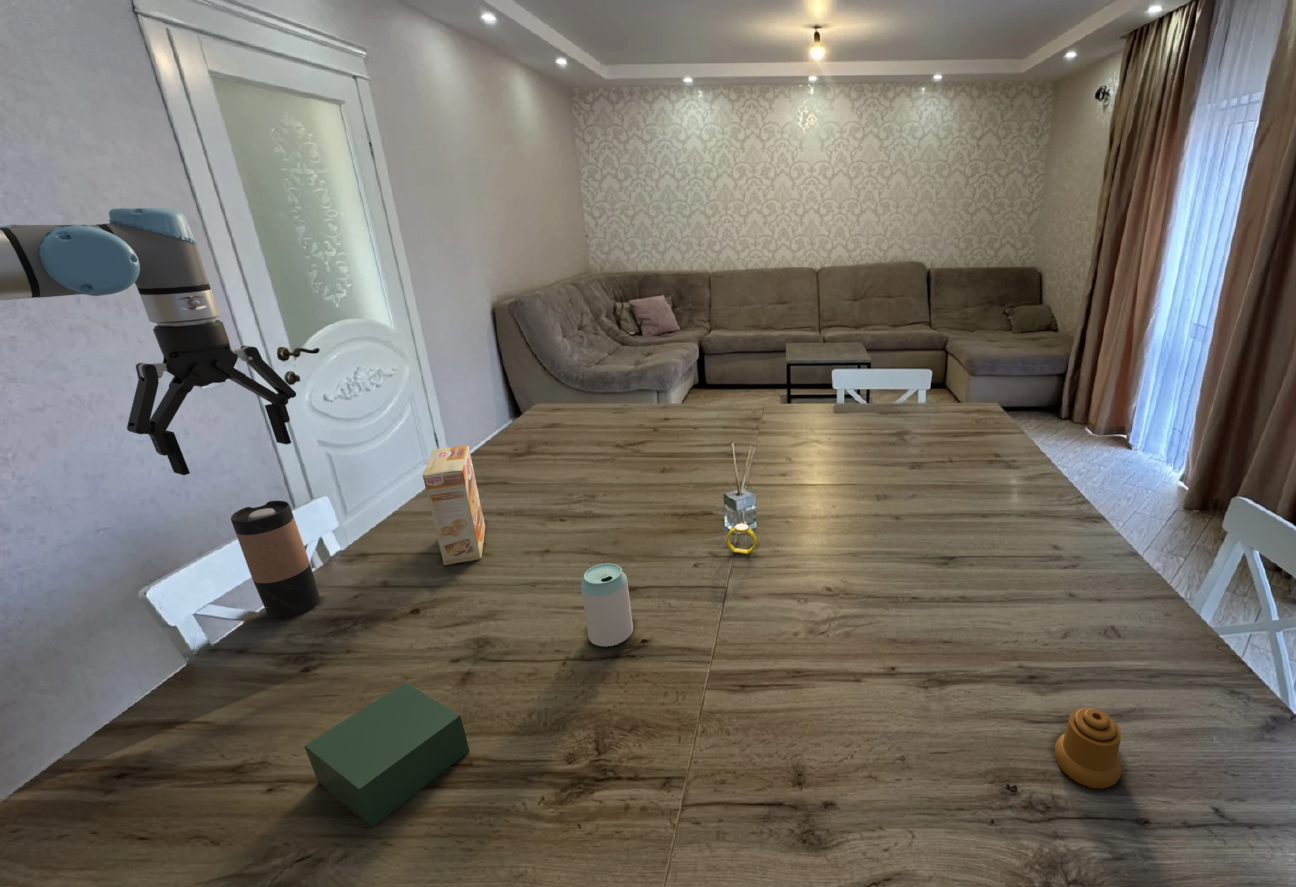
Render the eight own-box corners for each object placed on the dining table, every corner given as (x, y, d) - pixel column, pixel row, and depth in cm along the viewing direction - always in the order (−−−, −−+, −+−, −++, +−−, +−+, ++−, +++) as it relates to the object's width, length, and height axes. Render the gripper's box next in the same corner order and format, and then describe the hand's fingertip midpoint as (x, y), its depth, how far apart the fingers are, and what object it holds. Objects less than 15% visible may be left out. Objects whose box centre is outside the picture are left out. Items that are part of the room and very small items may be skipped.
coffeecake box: (482, 559, 122) (462, 470, 115) (442, 566, 119) (420, 475, 112) (486, 525, 135) (469, 443, 128) (451, 531, 132) (431, 448, 125)
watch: (725, 555, 122) (724, 529, 120) (729, 547, 125) (727, 522, 123) (755, 557, 122) (754, 530, 119) (757, 549, 124) (756, 524, 122)
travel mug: (301, 627, 102) (263, 521, 95) (256, 627, 102) (216, 521, 95) (334, 600, 109) (301, 500, 102) (292, 599, 109) (257, 500, 102)
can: (641, 625, 102) (634, 564, 97) (619, 653, 95) (610, 588, 91) (604, 618, 103) (595, 558, 99) (580, 645, 97) (569, 581, 93)
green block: (372, 828, 69) (358, 789, 66) (318, 782, 74) (303, 745, 72) (470, 751, 78) (460, 715, 76) (415, 716, 84) (405, 681, 82)
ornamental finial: (1106, 805, 70) (1043, 766, 75) (1128, 766, 75) (1067, 732, 80) (1119, 753, 68) (1052, 716, 73) (1141, 716, 72) (1077, 684, 77)
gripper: (79, 339, 76) (144, 492, 84) (297, 310, 97) (333, 434, 105) (51, 335, 79) (117, 483, 86) (269, 308, 100) (307, 429, 108)
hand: (236, 457), depth 96 cm, fingers open, 13 cm apart
